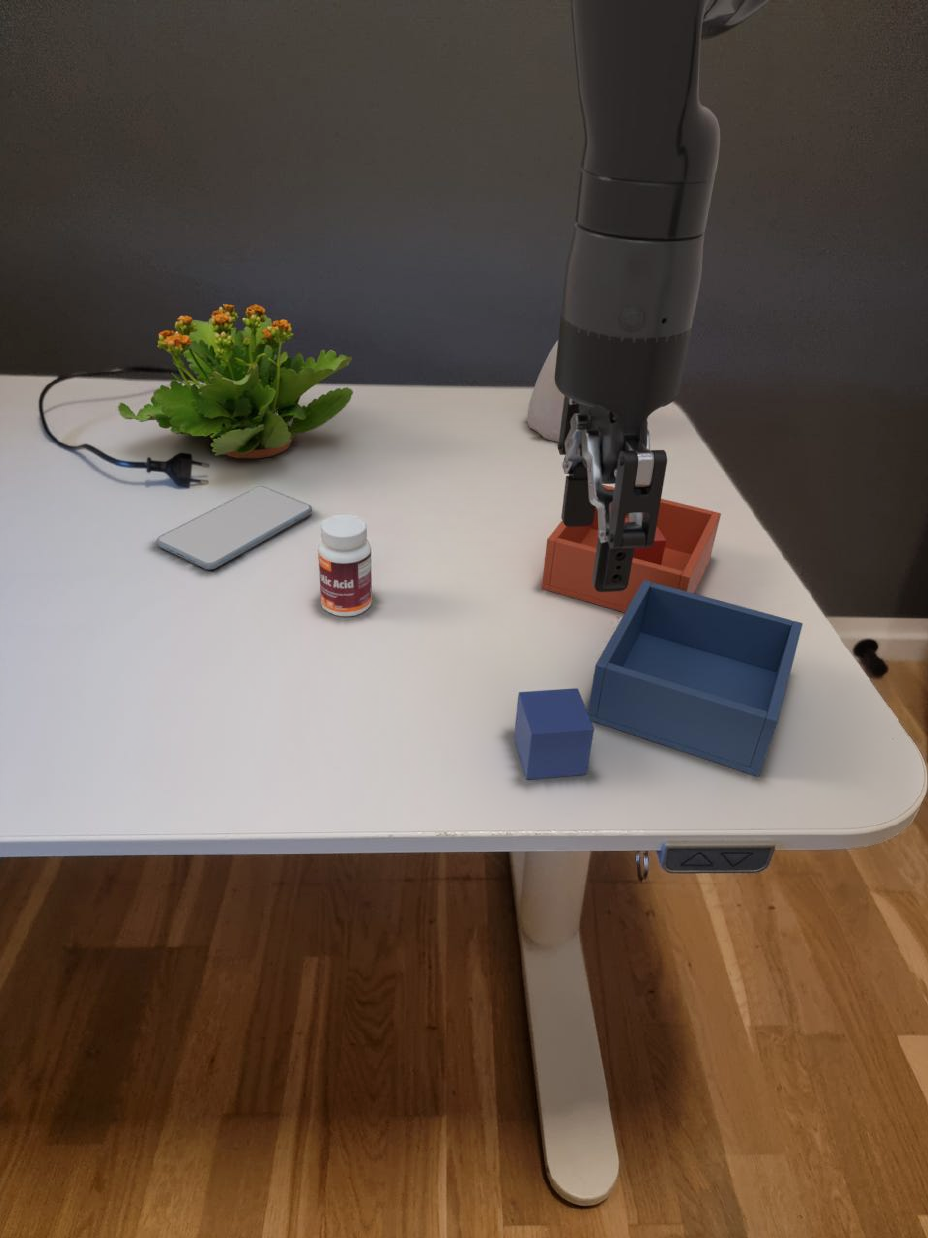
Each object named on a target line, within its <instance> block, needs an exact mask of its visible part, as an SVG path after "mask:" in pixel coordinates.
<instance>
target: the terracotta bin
mask: <svg viewBox="0 0 928 1238" xmlns="http://www.w3.org/2000/svg"><path fill="white" fill-rule="evenodd" d="M602 485H603V486H604V487H605V488H606V489H608V490H614V488H615V486H611V485H610V486H609V485H607V484H602ZM611 511H612V505H611ZM721 516H722V513H721V512H717V511H714V510H710V509H705V508H701V507H697V506H693V505H690V504H686V503H681V502H677V501H672V500H668V499H664V498H661V502H660V508H659V514H658V521H657V527H658V528H659V530H660V531H661V533H662V534H663V536H664V537H665V539H666V545H665V549H664V554H663V559H662V564H661V565H659V564H655V563H651V562H647V561H643V560H640V559H636V558H633V560H632V566H631V571H630V577H629V583H628V586H627V588H626V589H625V590H623V591H615V592H598V591H596V590H595V588H594V585H593V583H592V576H593V570H594V563H595V556H596V550H597V543H598V537H599V536H598V530H599V528H598V510H597V507H596V506H595V513H594V520H593V522H592V524H591V525H589V526H580V527H567V526H565V525H564V523H563V521H562V520H561V521H560V523H559V524H558V525H557V526H556V528H555V529H554V530H553V532H551V534H550V535H549V536H548V538H547V539H546V546H545V555H544V564H543V572H542V582H541V590H546V591H548V592H552V593H555V594H559V595H562V596H566V597H569V598H573V599H577V600H580V601H583V602H587V603H591V604H594V605H597V606H600V607H604V608H608V609H611V610H615V611H618V612H621V613H625V612H626V610H627V609H628V607H629V605H630V603H631V601H632V600H633V598H634V596H635V594H636V593H637V591H638V589H639V587H640V586H641V584H642V582H643V580H646V581H649V582H652V583H657V584H661V585H664V586H668V587H672V588H675V589H679V590H683V591H686V592H690V593H694V594H696V591H697V589H698V587H699V585H700V582H701V580H702V578H703V576H704V574H705V571H706V569H707V568H708V565H709V563H710V561H711V557H712V553H713V549H714V546H715V545H714V544H715V541H716V536H717V534H718V533H717V532H718V528H719V524H720V520H721ZM625 518H629V516H628V514H627V515H626V517H625ZM642 518H643V512H642Z"/></svg>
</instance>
